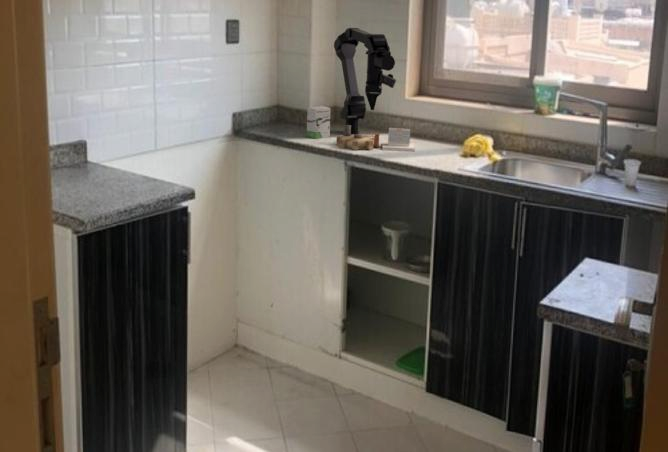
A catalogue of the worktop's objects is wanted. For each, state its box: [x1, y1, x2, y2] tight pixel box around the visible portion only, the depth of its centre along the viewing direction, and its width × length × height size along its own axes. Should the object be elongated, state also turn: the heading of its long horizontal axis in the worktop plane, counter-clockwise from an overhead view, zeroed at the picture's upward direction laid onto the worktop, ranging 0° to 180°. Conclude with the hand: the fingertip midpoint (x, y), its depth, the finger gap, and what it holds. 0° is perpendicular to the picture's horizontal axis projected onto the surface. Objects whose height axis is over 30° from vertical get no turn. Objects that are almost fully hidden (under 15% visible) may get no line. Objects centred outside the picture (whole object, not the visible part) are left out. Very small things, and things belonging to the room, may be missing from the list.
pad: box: [381, 140, 416, 152], centre depth 322 cm, size 11×12×1 cm
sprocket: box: [335, 124, 380, 151], centre depth 321 cm, size 16×16×7 cm
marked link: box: [387, 127, 411, 146], centre depth 321 cm, size 4×8×6 cm, turn 87°
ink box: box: [306, 105, 331, 140], centre depth 335 cm, size 9×5×12 cm, turn 134°
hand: (372, 108), depth 328 cm, fingers open, 9 cm apart
